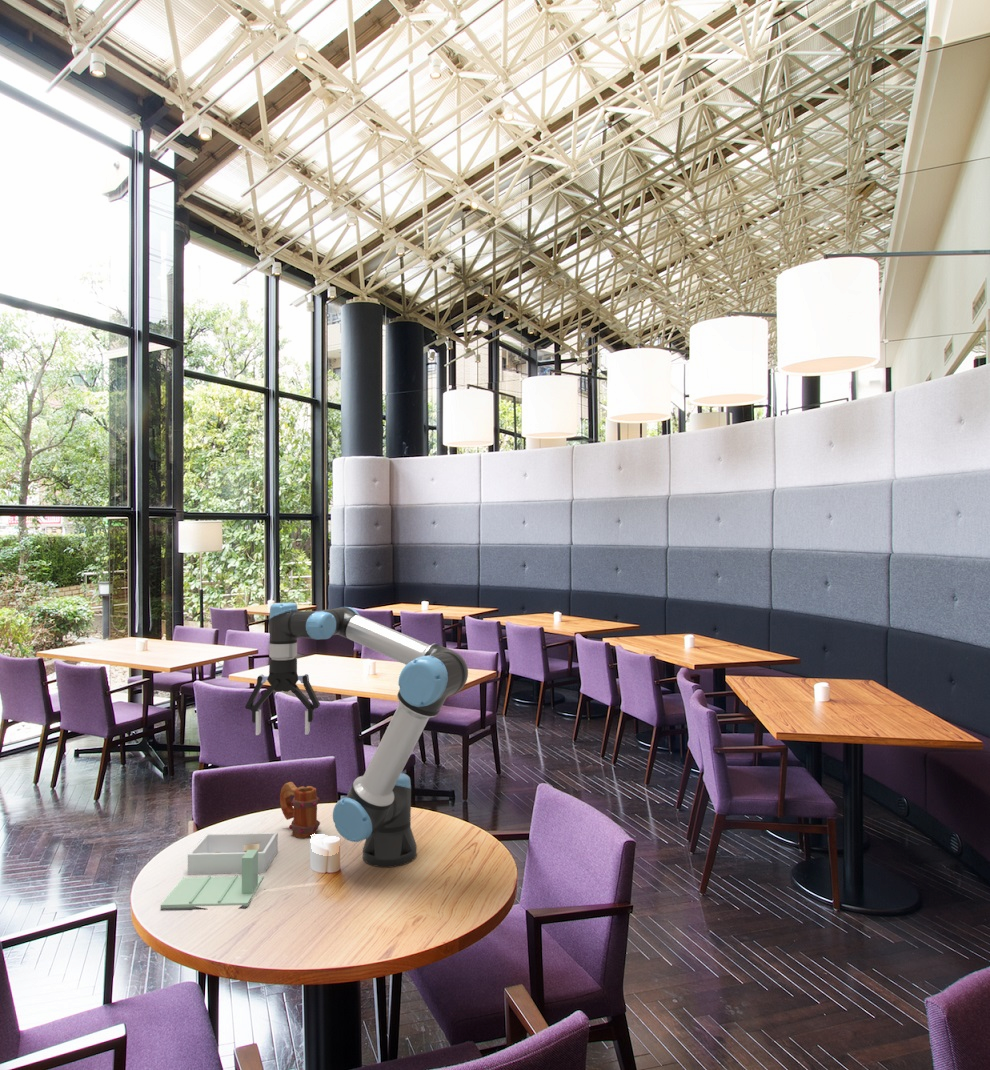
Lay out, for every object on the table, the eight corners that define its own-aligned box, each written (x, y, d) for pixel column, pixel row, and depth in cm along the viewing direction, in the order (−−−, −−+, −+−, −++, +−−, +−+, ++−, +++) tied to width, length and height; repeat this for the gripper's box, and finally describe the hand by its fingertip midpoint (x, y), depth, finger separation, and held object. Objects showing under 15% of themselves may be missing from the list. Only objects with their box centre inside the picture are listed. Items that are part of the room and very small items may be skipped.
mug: (326, 835, 222) (326, 785, 222) (305, 844, 215) (306, 792, 215) (292, 825, 230) (292, 777, 230) (271, 833, 223) (272, 784, 223)
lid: (263, 878, 191) (263, 842, 192) (247, 906, 177) (247, 866, 177) (183, 880, 190) (183, 843, 191) (160, 908, 176) (160, 868, 176)
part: (259, 854, 206) (259, 843, 206) (259, 860, 202) (259, 849, 202) (244, 856, 205) (244, 845, 205) (243, 862, 201) (243, 851, 201)
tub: (277, 853, 208) (277, 832, 208) (264, 875, 194) (264, 853, 194) (205, 855, 207) (206, 833, 207) (187, 877, 193) (187, 854, 193)
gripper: (330, 655, 210) (329, 729, 210) (242, 656, 209) (241, 730, 209) (325, 659, 203) (325, 736, 203) (234, 660, 202) (233, 737, 201)
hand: (282, 733), depth 206 cm, fingers open, 13 cm apart
